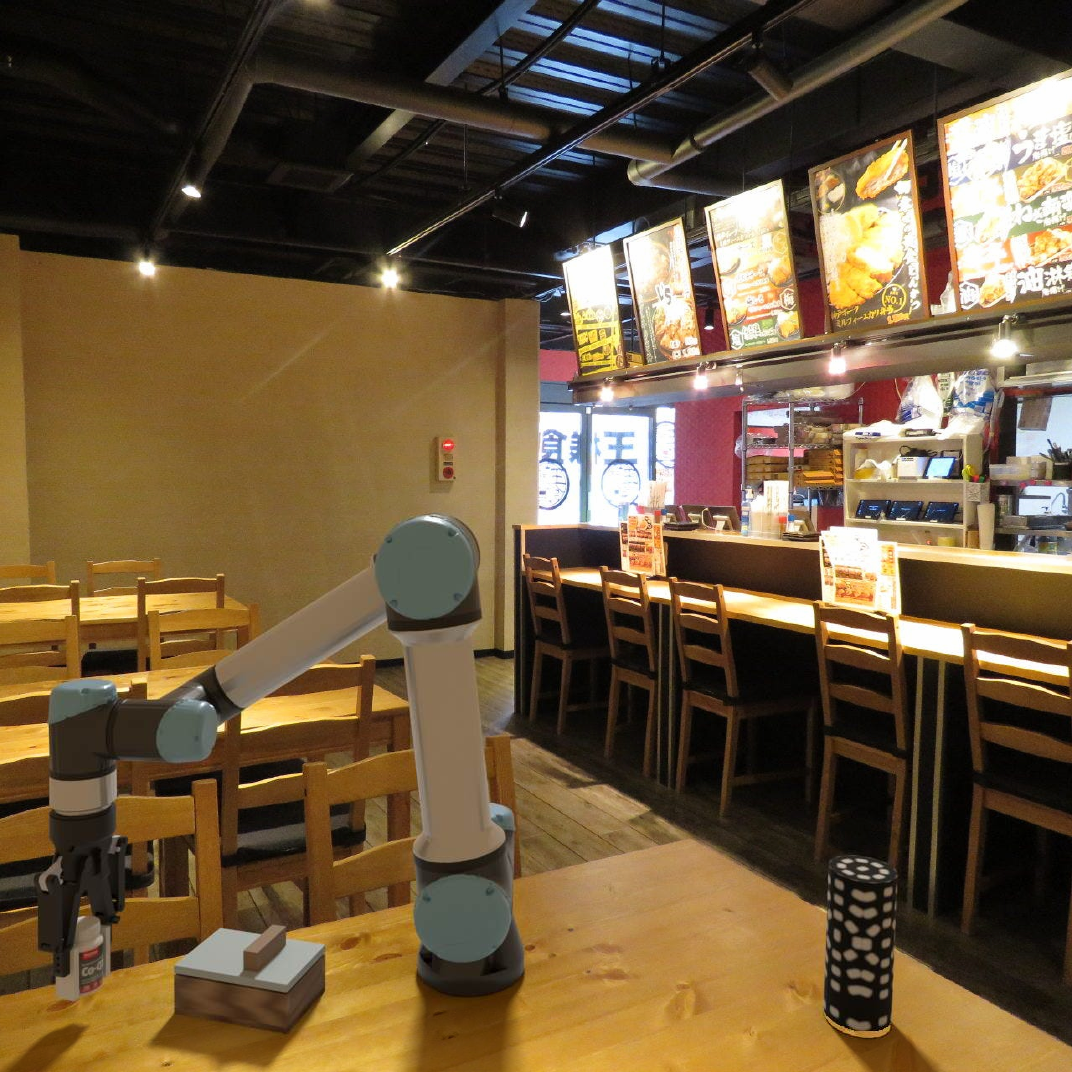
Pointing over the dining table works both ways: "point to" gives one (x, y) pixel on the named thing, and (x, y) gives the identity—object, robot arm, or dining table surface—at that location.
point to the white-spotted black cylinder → (860, 942)
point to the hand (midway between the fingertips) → (83, 985)
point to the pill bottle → (89, 954)
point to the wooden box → (249, 1000)
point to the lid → (252, 958)
